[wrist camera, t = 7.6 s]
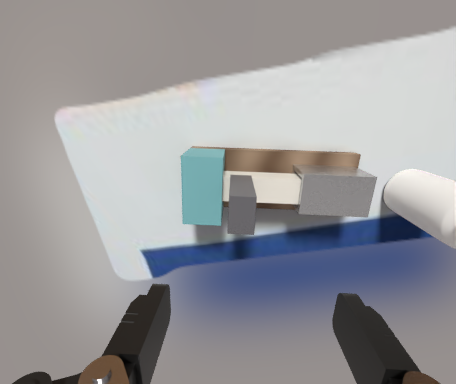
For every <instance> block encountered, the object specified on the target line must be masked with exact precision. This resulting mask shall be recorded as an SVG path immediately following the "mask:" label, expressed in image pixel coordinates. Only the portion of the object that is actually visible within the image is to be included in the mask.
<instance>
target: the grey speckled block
mask: <svg viewBox="0 0 456 384" xmlns="http://www.w3.org/2000/svg"><path fill="white" fill-rule="evenodd" d="M292 174H298V175H299V176H300V177H301V178H302V182H301V190H300V197H299V204H293V206H294V208H295V209H296V211H297V212H298V214H304V215H328V216H351V217H368V214H369V209H370V205H371V201H372V197H373V192H374V188H375V184H376V180H377V177H375V176H373V175H371V174H369V173H367V172H365V171H363V170H360V169H358V168H356V167H350V166H325V165H299V164H293V169H292Z"/></svg>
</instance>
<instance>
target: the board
mask: <svg viewBox="0 0 456 384" xmlns="http://www.w3.org/2000/svg"><path fill="white" fill-rule="evenodd" d="M191 148H203V149H225V169H224V171H241V172H266V173H291V174H292V169H293V164H299V165H325V166H350V167H356V168H358V165H359V160H360V154H357V153H348V152H322V151H297V150H271V149H245V148H220V147H194V146H192V147H191ZM223 207H229V201H224V202H223ZM256 208H268V209H292V210H296V209H295V208H294V206H293V204H279V203H256Z"/></svg>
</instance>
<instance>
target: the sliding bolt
mask: <svg viewBox="0 0 456 384" xmlns="http://www.w3.org/2000/svg"><path fill="white" fill-rule="evenodd" d="M301 182H302V178H301V177H300V176H299V175H298V174H291V173H266V172H241V171H223V188H222V201H229V209H228V234H251V235H254V228H255V215H256V203H279V204H299V197H300V190H301Z"/></svg>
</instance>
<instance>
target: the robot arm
mask: <svg viewBox="0 0 456 384" xmlns="http://www.w3.org/2000/svg"><path fill="white" fill-rule="evenodd" d="M170 313H171V307H170V288H169V285H168V284H152V286H151V288H150V290H149V292H148V294H147V295H139V296H138V297H137V298H136V299H135V300H134V301H133V302H131V304H130V306H129V307H128V309H127V311H126V314H125V315H124V316H123V318H122V320H121V323H120V324H119V326H118V328H117V329H116V331H115V333H114V335H113V337H112V338H111V340H110V342H109V344H108V346H107V348H106V349H105V351H104V353H103V355H102V356H101V357H100V358H98V359H96V360H94V361H93V362H91V363H90V364H89V365H88V366H87V367H86V368H85V369H84V370H83V372H82V373H79V374H77V375H73V376H70V377H66V378H62V379H58V380H54V381H52V380H51V377H50V376H49V374H47V373H45V372H34V373H30V374H28V375H25V376H23V377H22V378H20V379H18V380H17V381H15V382H14V383H12V384H150V382H151V379H152V376H153V373H154V370H155V366H156V363H157V360H158V357H159V354H160V351H161V347H162V344H163V341H164V338H165V335H166V331H167V328H168V325H169V321H170ZM333 329H334V333H335V335H336V337H337V340H338V342H339V344H340V346H341V349H342V351H343V353H344V356H345V358H346V360H347V362H348V364H349V367H350V369H351V371H352V373H353V376H354V378H355V380H356V383H357V384H440V383H439V382H438V381H436V380H435V379H433V378H432V377H430V376H428V375H426V374H424V373H421V372H420V370H419V369H418V367H417V366H416V364H415V363H414V362H413V360H412V359H411V357H410V356H409V355H408V353H407V352H406V350H405V349H404V348H403V346H402V345H401V343H400V342H399V340H398V339H397V338H396V337H395V335H394V333H393V332H392V331H391V329H390V328H388V325H387V324H386V322H385V321H384V319H383V318H382V316H381V315H380V314H378V313H377V312H376V311H375V310H374V309H372V308H371V307H370V306H365V305H364V303H363V302H362V300H361V299H360V297H359V296H358V295H357V294H348V293H339V294H338V296H337V301H336V305H335V310H334V315H333Z"/></svg>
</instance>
